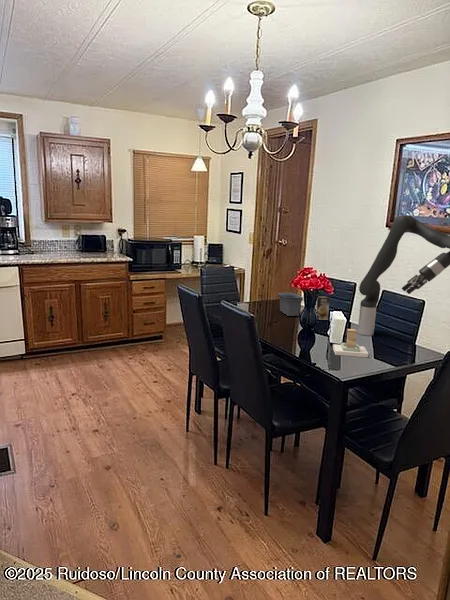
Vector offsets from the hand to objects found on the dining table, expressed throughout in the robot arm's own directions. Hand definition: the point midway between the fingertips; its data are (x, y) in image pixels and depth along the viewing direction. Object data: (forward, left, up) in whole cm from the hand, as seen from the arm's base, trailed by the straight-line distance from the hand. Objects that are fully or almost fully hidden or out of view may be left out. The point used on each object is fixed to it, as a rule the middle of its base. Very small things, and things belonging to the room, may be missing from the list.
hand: (405, 291), depth 216 cm
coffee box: (-64, -36, -33) cm, 80 cm away
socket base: (+7, -26, -33) cm, 42 cm away
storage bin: (-74, -56, -33) cm, 98 cm away
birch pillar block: (+7, -25, -31) cm, 40 cm away
